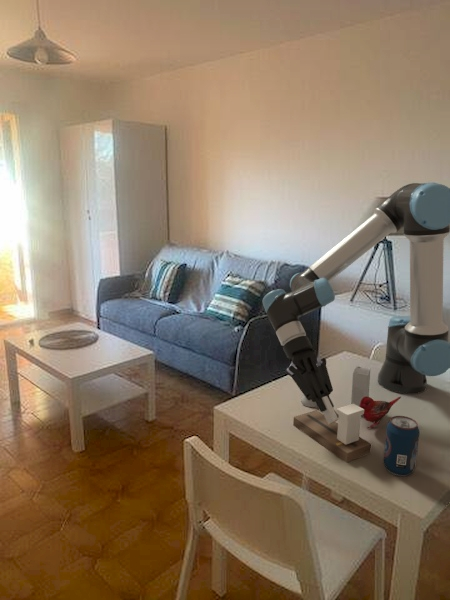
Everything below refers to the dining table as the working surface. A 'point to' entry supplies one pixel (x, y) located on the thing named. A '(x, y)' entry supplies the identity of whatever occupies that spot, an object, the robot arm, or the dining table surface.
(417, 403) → the dining table surface
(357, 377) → the skincare box
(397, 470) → the soda can
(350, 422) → the fader knob
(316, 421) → the fader board
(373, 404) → the decorative bird figurine
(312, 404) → the flask
